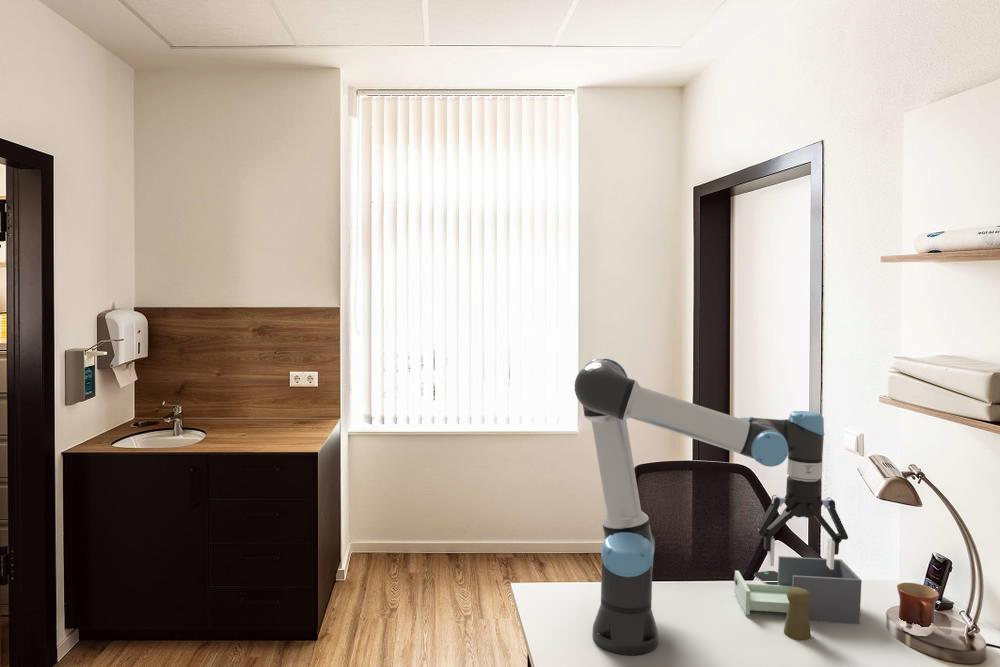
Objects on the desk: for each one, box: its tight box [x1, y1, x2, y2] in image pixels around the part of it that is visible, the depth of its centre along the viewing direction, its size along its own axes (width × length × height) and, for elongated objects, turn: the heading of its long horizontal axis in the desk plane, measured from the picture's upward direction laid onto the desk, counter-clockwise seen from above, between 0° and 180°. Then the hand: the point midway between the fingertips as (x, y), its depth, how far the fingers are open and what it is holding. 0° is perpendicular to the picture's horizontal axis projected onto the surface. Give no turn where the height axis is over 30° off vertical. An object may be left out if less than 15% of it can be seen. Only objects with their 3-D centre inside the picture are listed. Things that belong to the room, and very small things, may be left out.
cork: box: [783, 587, 812, 642], centre depth 169 cm, size 6×6×11 cm
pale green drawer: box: [733, 570, 792, 616], centre depth 184 cm, size 15×13×6 cm
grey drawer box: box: [777, 555, 862, 625], centre depth 183 cm, size 16×14×11 cm
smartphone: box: [753, 570, 778, 585], centre depth 199 cm, size 8×1×15 cm
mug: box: [896, 582, 940, 627], centre depth 170 cm, size 12×9×10 cm
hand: (800, 565), depth 169 cm, fingers open, 13 cm apart
